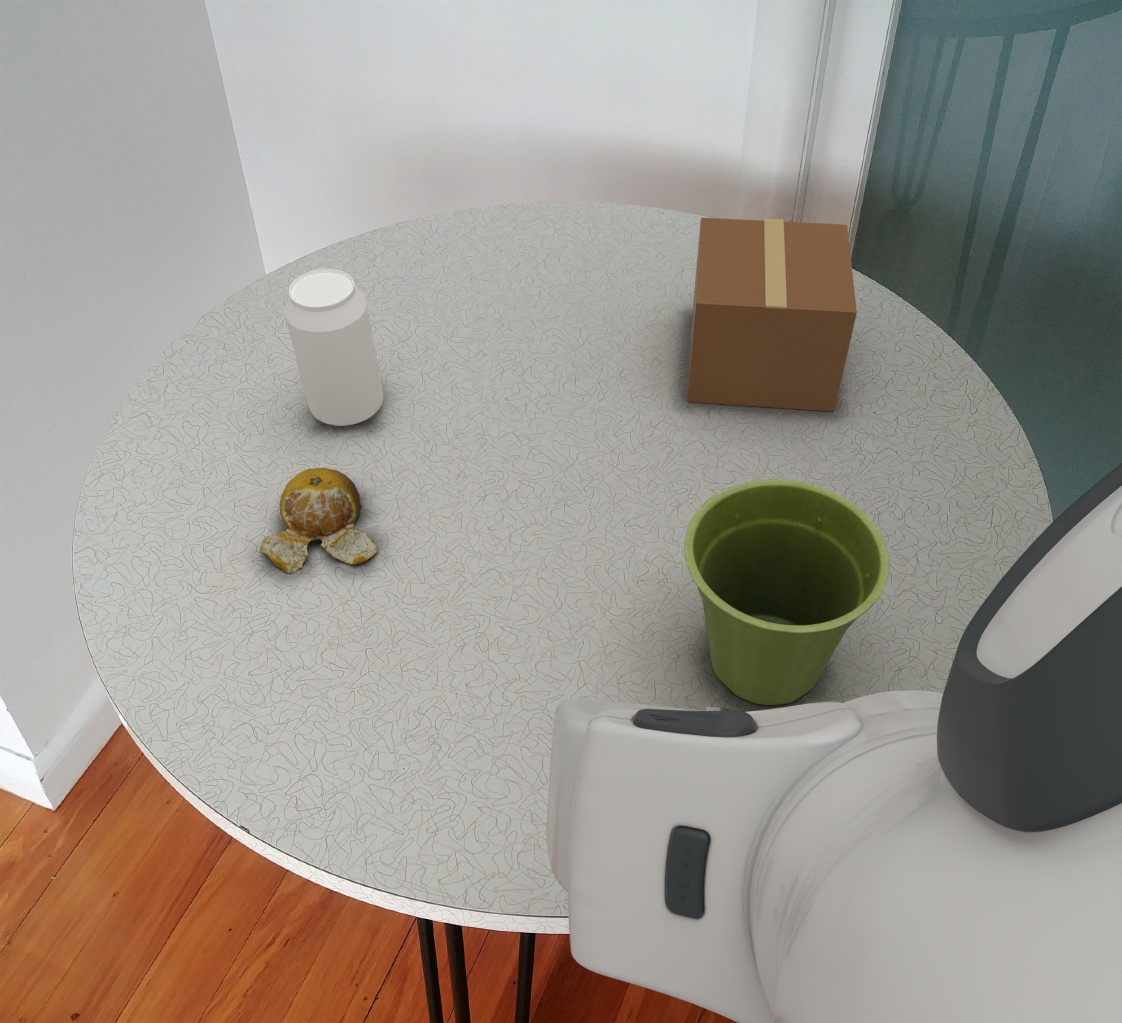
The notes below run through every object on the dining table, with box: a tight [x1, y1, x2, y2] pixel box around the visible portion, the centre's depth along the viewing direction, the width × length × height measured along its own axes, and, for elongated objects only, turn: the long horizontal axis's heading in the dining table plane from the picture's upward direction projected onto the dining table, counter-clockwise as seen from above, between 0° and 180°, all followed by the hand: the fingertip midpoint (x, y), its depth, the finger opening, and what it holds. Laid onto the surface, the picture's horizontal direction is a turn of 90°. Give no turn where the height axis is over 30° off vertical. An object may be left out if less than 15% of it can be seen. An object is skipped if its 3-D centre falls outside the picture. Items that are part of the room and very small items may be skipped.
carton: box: [686, 217, 858, 413], centre depth 87 cm, size 12×12×10 cm
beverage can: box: [284, 268, 384, 427], centre depth 84 cm, size 6×6×12 cm
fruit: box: [260, 467, 378, 574], centre depth 78 cm, size 8×8×4 cm
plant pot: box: [683, 478, 891, 706], centre depth 66 cm, size 12×12×11 cm
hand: (835, 740), depth 40 cm, fingers open, 7 cm apart
